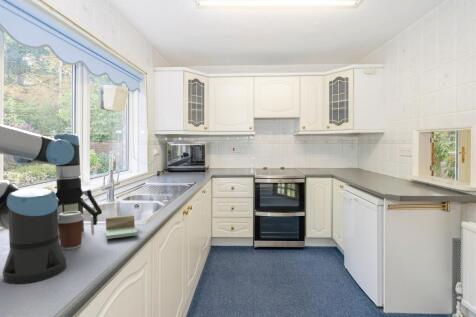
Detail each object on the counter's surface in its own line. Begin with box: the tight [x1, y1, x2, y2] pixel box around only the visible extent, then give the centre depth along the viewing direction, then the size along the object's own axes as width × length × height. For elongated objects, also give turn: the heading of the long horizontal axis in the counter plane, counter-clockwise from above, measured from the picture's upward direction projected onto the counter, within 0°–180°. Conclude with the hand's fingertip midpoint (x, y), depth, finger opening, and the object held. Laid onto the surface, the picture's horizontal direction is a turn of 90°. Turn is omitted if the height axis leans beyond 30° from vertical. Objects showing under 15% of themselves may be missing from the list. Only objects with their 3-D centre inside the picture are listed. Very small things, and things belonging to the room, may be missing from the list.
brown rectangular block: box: [105, 214, 136, 231], centre depth 126 cm, size 2×11×6 cm, turn 114°
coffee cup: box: [58, 211, 85, 251], centre depth 107 cm, size 9×9×12 cm
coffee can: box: [57, 197, 85, 238], centre depth 122 cm, size 10×10×14 cm
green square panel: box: [105, 226, 138, 240], centre depth 119 cm, size 1×11×12 cm
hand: (71, 236), depth 108 cm, fingers open, 13 cm apart
